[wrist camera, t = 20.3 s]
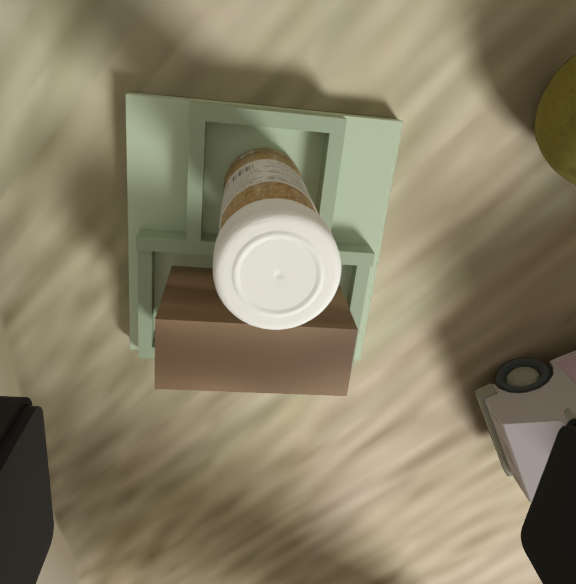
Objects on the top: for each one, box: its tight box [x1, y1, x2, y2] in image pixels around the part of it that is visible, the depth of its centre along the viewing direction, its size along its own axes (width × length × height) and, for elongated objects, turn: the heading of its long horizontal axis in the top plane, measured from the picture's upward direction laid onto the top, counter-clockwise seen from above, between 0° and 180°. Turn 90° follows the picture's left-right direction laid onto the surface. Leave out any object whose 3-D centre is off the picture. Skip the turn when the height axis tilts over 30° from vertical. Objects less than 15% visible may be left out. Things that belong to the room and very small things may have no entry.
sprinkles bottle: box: [213, 148, 341, 330], centre depth 25 cm, size 5×5×14 cm
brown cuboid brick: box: [155, 266, 358, 396], centre depth 31 cm, size 4×10×7 cm, turn 84°
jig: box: [126, 92, 403, 368], centre depth 32 cm, size 15×15×3 cm
